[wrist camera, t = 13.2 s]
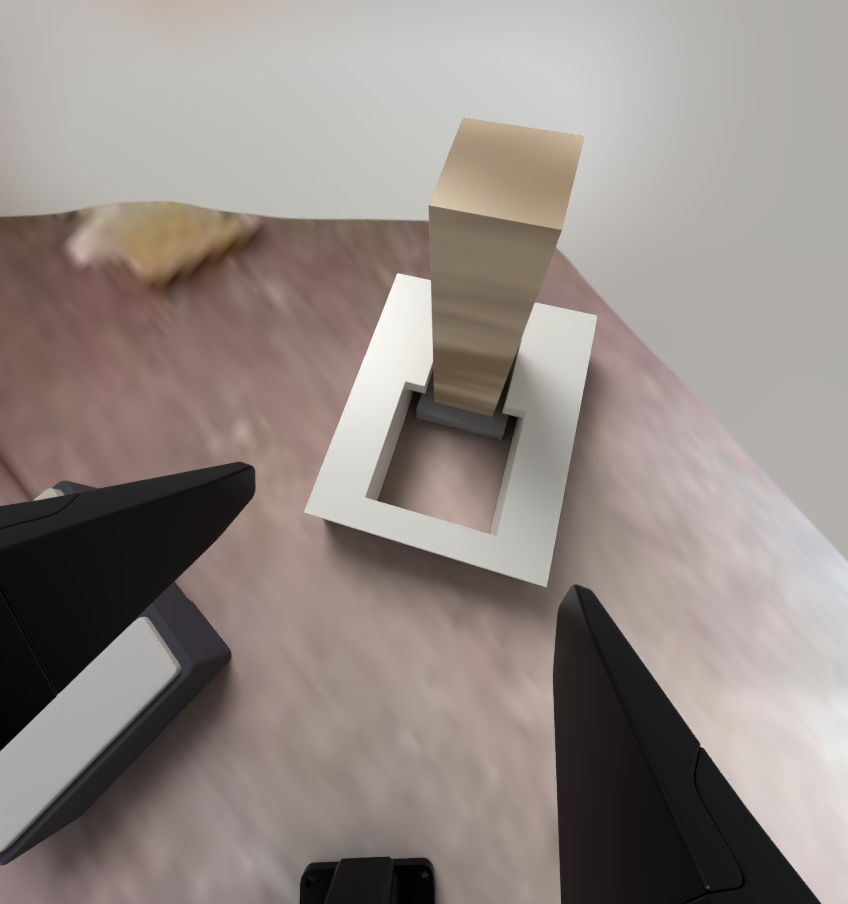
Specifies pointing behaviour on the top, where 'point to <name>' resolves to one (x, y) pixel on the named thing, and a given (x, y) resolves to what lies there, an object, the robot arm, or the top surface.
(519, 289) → the keyhole post
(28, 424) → the top surface
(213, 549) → the top surface
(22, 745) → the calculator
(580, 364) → the keyhole plate
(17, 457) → the top surface
